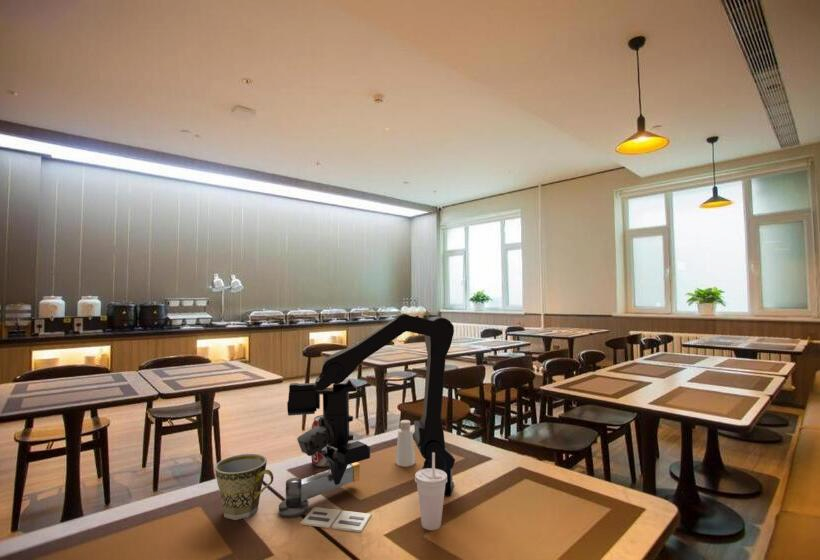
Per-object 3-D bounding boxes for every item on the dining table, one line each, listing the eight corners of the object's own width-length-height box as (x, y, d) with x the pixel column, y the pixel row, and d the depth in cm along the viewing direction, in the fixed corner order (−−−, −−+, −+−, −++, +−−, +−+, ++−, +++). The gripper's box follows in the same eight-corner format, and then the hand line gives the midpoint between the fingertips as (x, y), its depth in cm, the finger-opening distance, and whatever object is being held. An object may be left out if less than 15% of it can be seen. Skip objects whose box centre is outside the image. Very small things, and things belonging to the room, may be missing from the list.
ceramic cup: (203, 519, 83) (203, 468, 84) (239, 496, 93) (239, 451, 93) (255, 531, 79) (255, 478, 79) (287, 506, 88) (288, 458, 89)
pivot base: (313, 504, 89) (313, 499, 89) (299, 519, 83) (299, 513, 83) (287, 501, 90) (287, 496, 90) (272, 516, 85) (272, 510, 85)
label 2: (371, 515, 85) (371, 513, 85) (361, 532, 79) (361, 529, 79) (343, 512, 86) (343, 510, 86) (331, 528, 80) (331, 525, 80)
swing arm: (290, 508, 85) (290, 486, 85) (282, 503, 87) (283, 481, 87) (360, 480, 97) (360, 461, 97) (351, 476, 99) (351, 457, 99)
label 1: (341, 512, 86) (341, 509, 86) (329, 528, 80) (329, 525, 80) (314, 508, 87) (314, 506, 87) (300, 524, 82) (300, 521, 82)
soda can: (335, 468, 107) (335, 421, 108) (307, 468, 108) (308, 421, 108) (340, 457, 115) (340, 414, 115) (314, 457, 115) (315, 413, 115)
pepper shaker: (415, 466, 108) (415, 424, 109) (394, 466, 109) (394, 424, 109) (415, 458, 114) (415, 418, 114) (395, 458, 114) (395, 418, 114)
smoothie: (437, 538, 77) (437, 461, 77) (408, 527, 80) (408, 454, 81) (453, 521, 82) (452, 450, 83) (425, 512, 86) (424, 444, 86)
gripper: (284, 411, 95) (285, 482, 94) (323, 428, 80) (324, 511, 79) (328, 403, 102) (329, 468, 101) (371, 417, 87) (372, 493, 86)
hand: (337, 484), depth 92 cm, fingers closed
